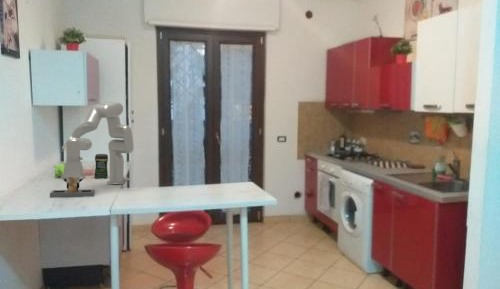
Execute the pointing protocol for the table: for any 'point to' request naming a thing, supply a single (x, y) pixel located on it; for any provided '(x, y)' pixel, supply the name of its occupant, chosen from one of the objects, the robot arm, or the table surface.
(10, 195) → the table surface
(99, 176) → the coffee jar
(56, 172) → the green lumpy round mass
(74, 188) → the oak peg
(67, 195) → the dark grey divided tray
